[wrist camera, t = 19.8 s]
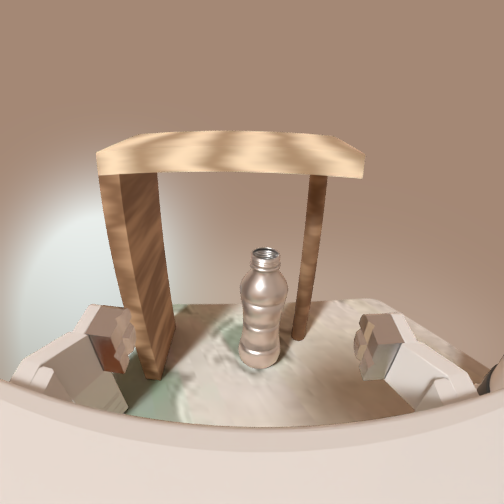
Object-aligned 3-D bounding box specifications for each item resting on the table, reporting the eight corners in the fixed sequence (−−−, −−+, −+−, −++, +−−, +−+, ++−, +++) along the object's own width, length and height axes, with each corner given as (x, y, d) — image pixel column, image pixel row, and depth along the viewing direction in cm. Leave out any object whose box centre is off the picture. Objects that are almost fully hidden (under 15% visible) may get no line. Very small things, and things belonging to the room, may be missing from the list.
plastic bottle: (242, 343, 52) (244, 239, 43) (280, 348, 52) (293, 244, 42) (234, 370, 47) (234, 263, 37) (276, 376, 46) (290, 269, 36)
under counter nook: (307, 330, 56) (333, 136, 39) (317, 385, 44) (365, 154, 28) (163, 325, 56) (138, 134, 39) (146, 378, 44) (95, 152, 28)
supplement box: (97, 386, 41) (70, 329, 35) (130, 408, 39) (104, 351, 33) (68, 414, 35) (32, 360, 29) (100, 440, 33) (64, 389, 27)
